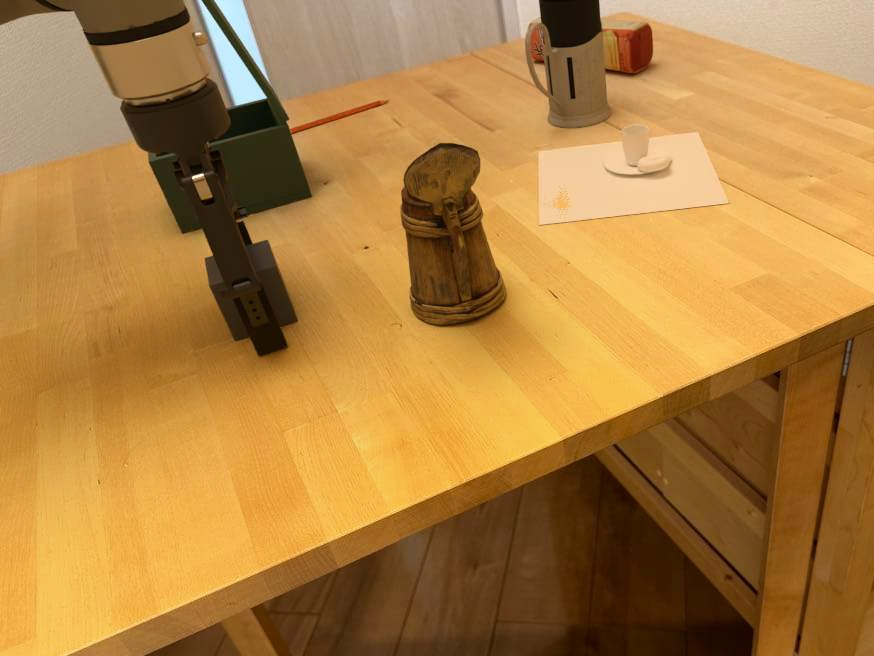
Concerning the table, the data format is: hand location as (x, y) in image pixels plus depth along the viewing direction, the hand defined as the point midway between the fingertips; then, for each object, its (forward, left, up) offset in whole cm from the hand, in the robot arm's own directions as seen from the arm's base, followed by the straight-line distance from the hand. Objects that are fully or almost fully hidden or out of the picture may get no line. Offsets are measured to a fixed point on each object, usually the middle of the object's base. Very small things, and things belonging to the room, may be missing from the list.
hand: (263, 314), depth 74 cm
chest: (-19, +25, 0) cm, 31 cm away
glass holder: (+18, +48, 0) cm, 51 cm away
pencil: (-19, +51, 0) cm, 54 cm away
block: (0, 0, 0) cm, 0 cm away
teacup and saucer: (+29, +32, 0) cm, 43 cm away
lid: (-15, +28, +17) cm, 36 cm away
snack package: (+15, +72, 0) cm, 73 cm away
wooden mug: (+20, +3, 0) cm, 20 cm away
